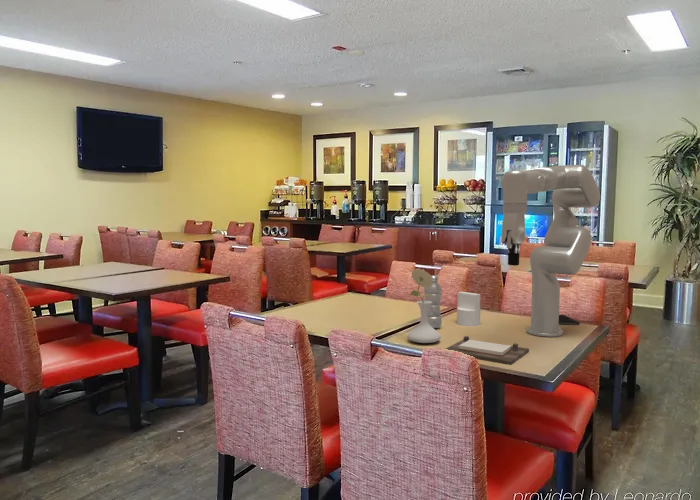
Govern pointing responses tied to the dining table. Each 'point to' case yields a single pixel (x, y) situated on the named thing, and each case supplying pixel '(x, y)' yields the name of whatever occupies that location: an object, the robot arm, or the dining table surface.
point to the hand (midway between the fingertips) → (513, 264)
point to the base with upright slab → (468, 309)
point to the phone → (567, 320)
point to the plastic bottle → (434, 302)
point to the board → (506, 358)
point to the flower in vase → (423, 311)
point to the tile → (485, 347)
